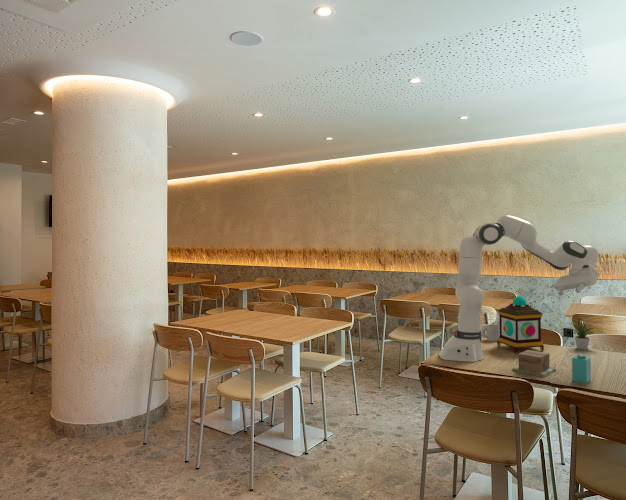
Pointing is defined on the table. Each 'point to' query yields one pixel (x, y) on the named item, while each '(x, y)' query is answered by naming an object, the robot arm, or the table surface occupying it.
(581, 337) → the house plant
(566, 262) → the robot arm
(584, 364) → the teal brick
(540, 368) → the tower base
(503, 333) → the decorative lantern
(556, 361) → the table surface
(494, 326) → the cup
